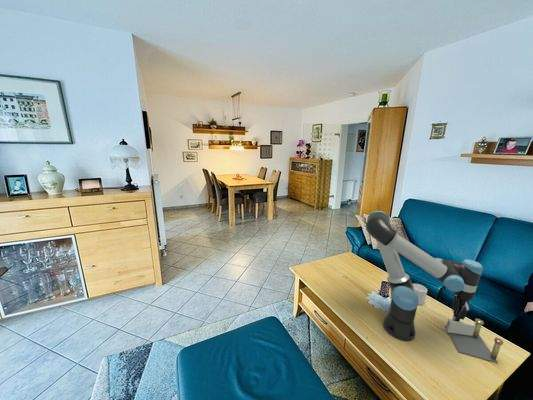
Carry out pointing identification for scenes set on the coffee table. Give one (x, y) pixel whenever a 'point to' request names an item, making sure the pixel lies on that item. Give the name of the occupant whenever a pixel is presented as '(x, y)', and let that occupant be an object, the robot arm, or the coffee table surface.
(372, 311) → the coffee table surface
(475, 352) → the mat
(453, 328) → the beige piece
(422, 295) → the cup
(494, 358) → the brass capped rod
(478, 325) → the hinge post
